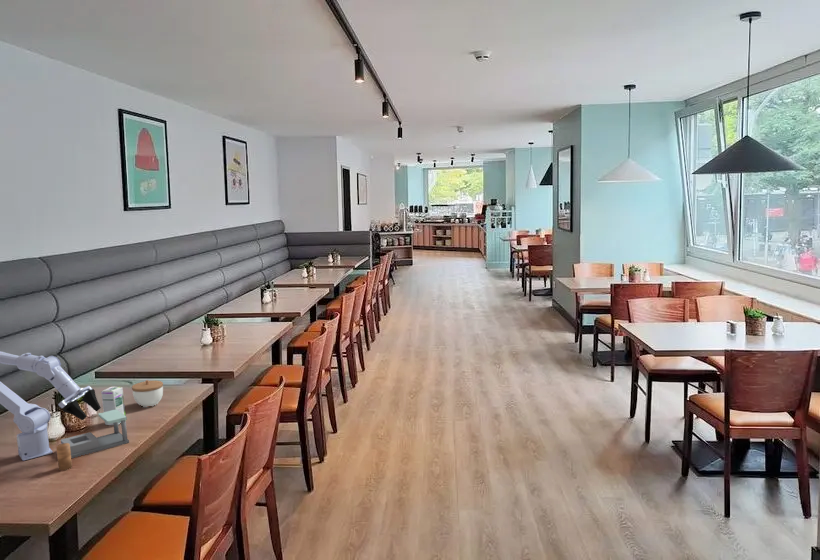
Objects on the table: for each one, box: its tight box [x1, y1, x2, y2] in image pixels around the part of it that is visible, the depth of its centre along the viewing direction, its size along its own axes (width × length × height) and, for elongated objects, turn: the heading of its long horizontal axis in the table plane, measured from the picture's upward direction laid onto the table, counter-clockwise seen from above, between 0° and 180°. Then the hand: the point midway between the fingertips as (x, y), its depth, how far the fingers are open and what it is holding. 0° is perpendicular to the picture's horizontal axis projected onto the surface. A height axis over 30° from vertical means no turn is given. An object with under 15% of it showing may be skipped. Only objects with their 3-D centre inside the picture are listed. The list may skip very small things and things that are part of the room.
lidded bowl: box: [131, 379, 164, 408], centre depth 273 cm, size 13×13×11 cm
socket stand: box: [60, 409, 130, 459], centre depth 228 cm, size 21×12×10 cm, turn 132°
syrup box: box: [100, 386, 127, 426], centre depth 252 cm, size 6×6×14 cm
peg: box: [55, 443, 73, 471], centre depth 211 cm, size 4×4×8 cm
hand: (91, 414), depth 220 cm, fingers open, 7 cm apart
